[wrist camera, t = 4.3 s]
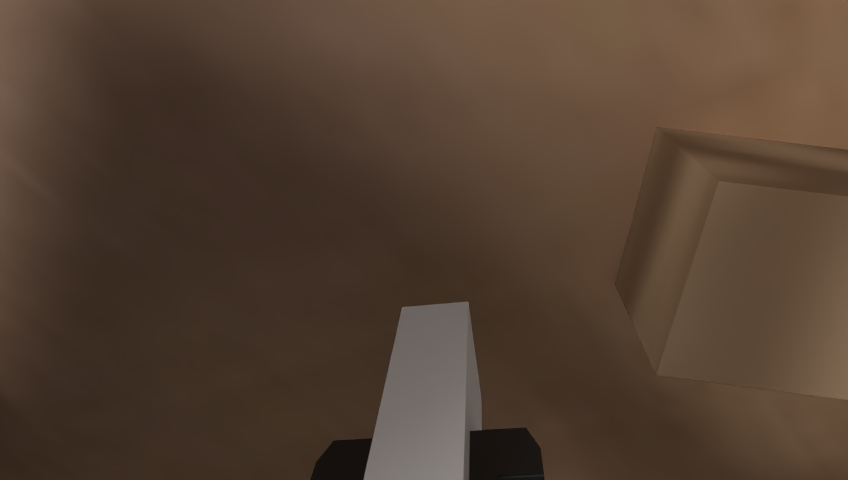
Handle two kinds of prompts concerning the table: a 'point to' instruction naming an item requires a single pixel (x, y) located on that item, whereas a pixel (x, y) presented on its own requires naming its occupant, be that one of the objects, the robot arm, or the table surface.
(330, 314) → the table surface
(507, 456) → the robot arm
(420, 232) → the table surface
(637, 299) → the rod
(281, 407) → the table surface
